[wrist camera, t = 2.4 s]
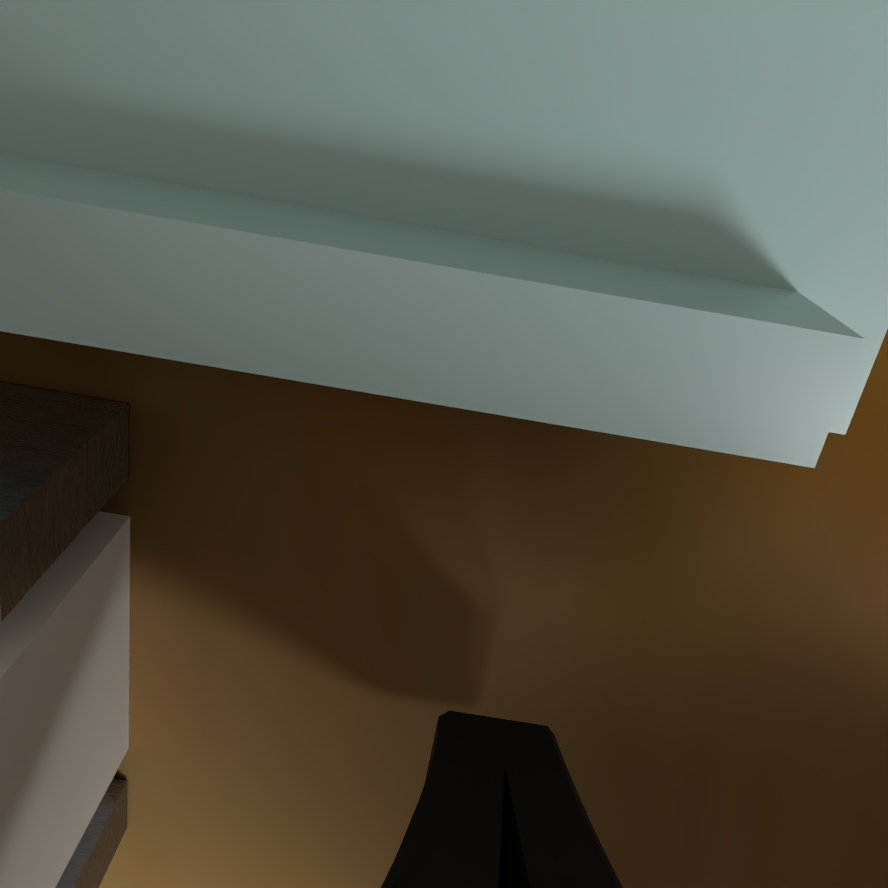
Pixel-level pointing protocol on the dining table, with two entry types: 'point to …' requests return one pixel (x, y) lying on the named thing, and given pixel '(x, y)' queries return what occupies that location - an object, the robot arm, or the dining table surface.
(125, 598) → the white block
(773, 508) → the dining table surface
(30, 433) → the channel
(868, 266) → the cradle
